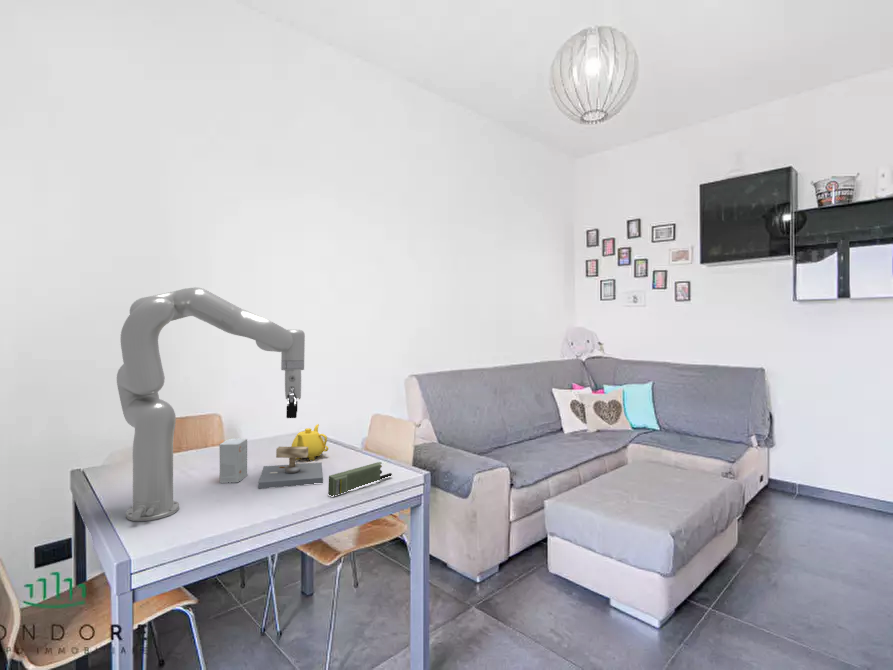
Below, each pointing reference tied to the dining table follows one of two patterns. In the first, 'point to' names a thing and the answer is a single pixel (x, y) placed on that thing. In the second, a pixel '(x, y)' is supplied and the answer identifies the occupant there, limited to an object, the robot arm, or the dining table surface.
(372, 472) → the handheld radio
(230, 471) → the small box
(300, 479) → the plate
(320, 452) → the teapot
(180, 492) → the dining table surface
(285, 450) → the t key
